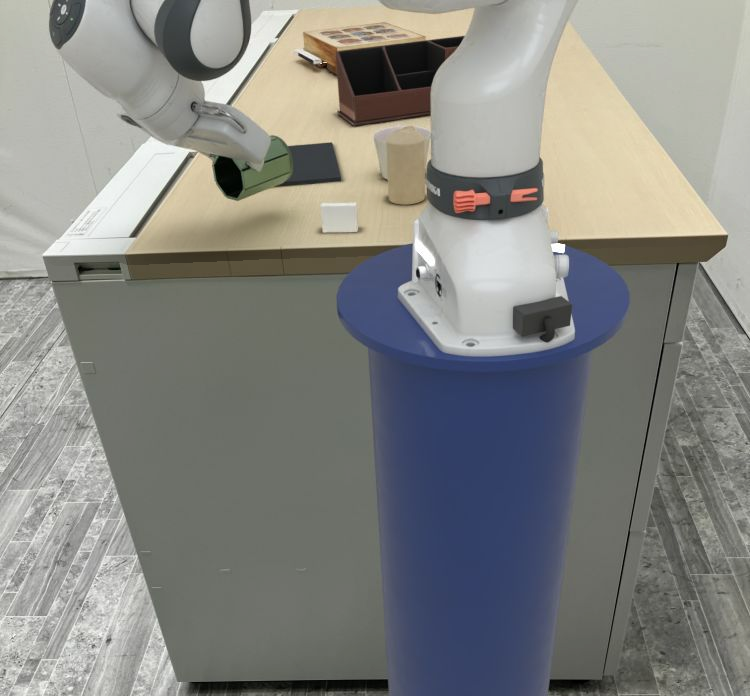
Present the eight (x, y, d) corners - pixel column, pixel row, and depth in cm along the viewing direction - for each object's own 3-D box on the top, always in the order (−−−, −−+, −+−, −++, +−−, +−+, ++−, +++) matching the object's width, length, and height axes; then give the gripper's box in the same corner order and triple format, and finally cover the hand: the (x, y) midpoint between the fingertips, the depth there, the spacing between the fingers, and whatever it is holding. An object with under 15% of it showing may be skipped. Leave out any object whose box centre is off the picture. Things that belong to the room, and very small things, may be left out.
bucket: (265, 177, 121) (259, 132, 117) (295, 184, 117) (290, 138, 114) (217, 196, 115) (209, 149, 111) (247, 203, 112) (240, 156, 108)
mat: (341, 180, 132) (341, 177, 131) (241, 189, 131) (240, 185, 130) (332, 145, 147) (332, 142, 147) (242, 153, 146) (242, 149, 146)
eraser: (323, 229, 116) (321, 203, 113) (358, 228, 115) (356, 202, 113) (322, 232, 115) (320, 206, 112) (357, 232, 114) (355, 205, 112)
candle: (406, 190, 127) (404, 120, 120) (432, 197, 123) (432, 126, 117) (380, 199, 124) (377, 129, 118) (407, 207, 121) (405, 135, 114)
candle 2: (373, 168, 136) (371, 128, 132) (428, 165, 136) (427, 124, 132) (376, 186, 129) (374, 144, 125) (434, 182, 129) (433, 140, 125)
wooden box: (292, 60, 208) (327, 80, 187) (289, 32, 204) (325, 49, 183) (382, 49, 214) (426, 67, 194) (381, 21, 210) (426, 36, 190)
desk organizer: (493, 106, 163) (495, 42, 156) (353, 126, 156) (349, 60, 149) (471, 95, 171) (472, 33, 164) (336, 114, 164) (332, 50, 157)
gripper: (237, 84, 95) (304, 151, 107) (128, 69, 106) (200, 131, 117) (214, 135, 95) (284, 196, 107) (108, 114, 106) (182, 172, 117)
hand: (239, 162), depth 112 cm, fingers closed on bucket, 6 cm apart
